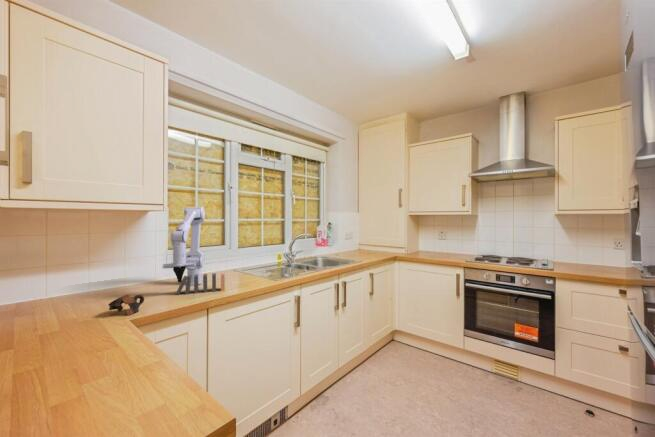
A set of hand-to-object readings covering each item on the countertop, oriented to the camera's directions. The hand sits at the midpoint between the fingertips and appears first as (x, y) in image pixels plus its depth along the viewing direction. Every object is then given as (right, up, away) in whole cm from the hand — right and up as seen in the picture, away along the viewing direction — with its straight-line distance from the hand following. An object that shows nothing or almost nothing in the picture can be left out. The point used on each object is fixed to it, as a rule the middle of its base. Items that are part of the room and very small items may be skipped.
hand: (179, 281), depth 140 cm
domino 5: (+15, -6, +6) cm, 17 cm away
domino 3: (+7, -6, +3) cm, 10 cm away
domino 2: (+3, -6, +1) cm, 7 cm away
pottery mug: (-7, -7, -26) cm, 28 cm away
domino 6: (+19, -6, +7) cm, 21 cm away
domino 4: (+11, -6, +4) cm, 13 cm away
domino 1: (-1, -6, 0) cm, 6 cm away
